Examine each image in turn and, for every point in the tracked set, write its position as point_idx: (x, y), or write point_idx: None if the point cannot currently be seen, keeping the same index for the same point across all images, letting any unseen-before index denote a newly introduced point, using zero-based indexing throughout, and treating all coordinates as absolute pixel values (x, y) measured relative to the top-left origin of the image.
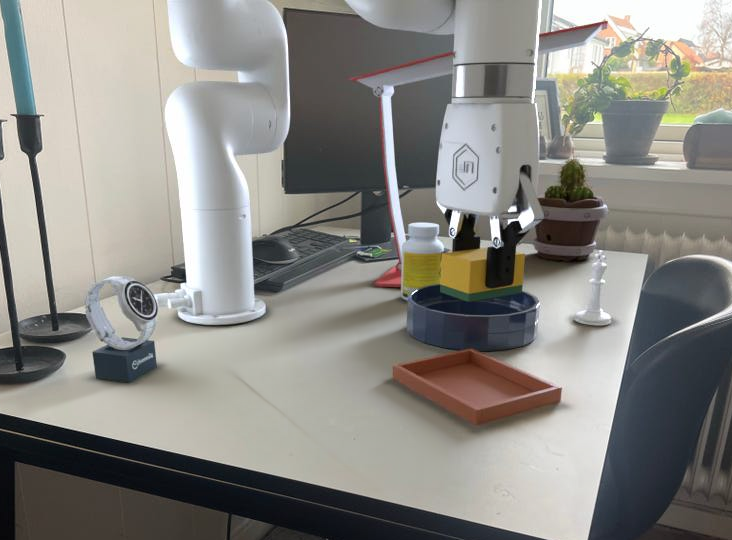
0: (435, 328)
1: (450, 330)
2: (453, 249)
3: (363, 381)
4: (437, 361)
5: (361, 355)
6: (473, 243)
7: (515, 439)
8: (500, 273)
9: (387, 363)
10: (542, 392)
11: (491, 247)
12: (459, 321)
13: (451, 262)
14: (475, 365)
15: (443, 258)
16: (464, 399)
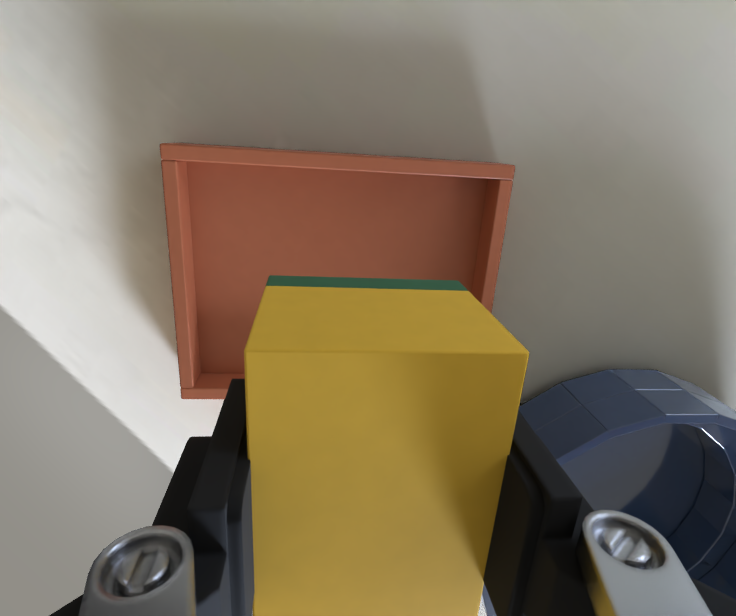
0: (606, 398)
1: (568, 414)
2: (537, 452)
3: (546, 103)
4: (478, 293)
5: (673, 210)
6: (501, 572)
7: (95, 184)
8: (185, 446)
9: (591, 230)
10: (178, 346)
11: (200, 520)
12: (561, 440)
13: (422, 334)
14: None
15: (499, 340)
16: (300, 221)
